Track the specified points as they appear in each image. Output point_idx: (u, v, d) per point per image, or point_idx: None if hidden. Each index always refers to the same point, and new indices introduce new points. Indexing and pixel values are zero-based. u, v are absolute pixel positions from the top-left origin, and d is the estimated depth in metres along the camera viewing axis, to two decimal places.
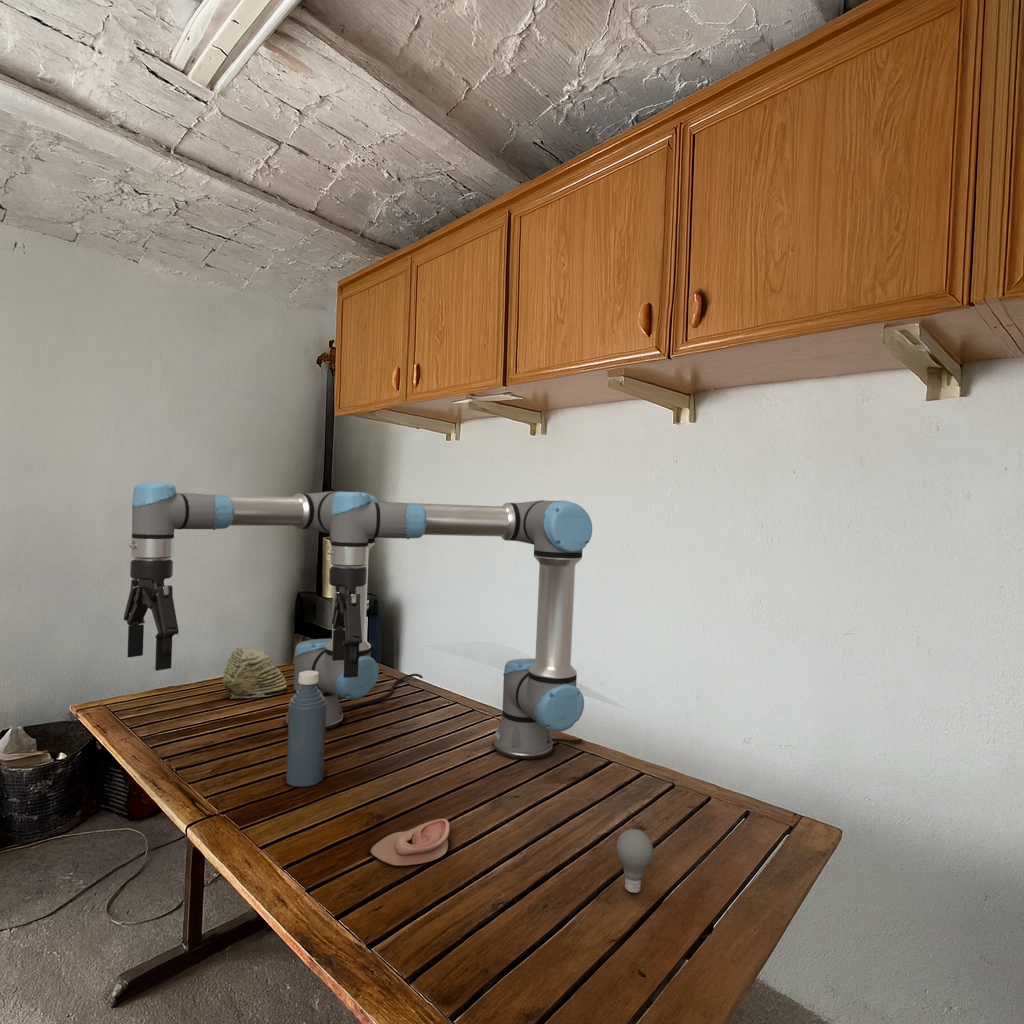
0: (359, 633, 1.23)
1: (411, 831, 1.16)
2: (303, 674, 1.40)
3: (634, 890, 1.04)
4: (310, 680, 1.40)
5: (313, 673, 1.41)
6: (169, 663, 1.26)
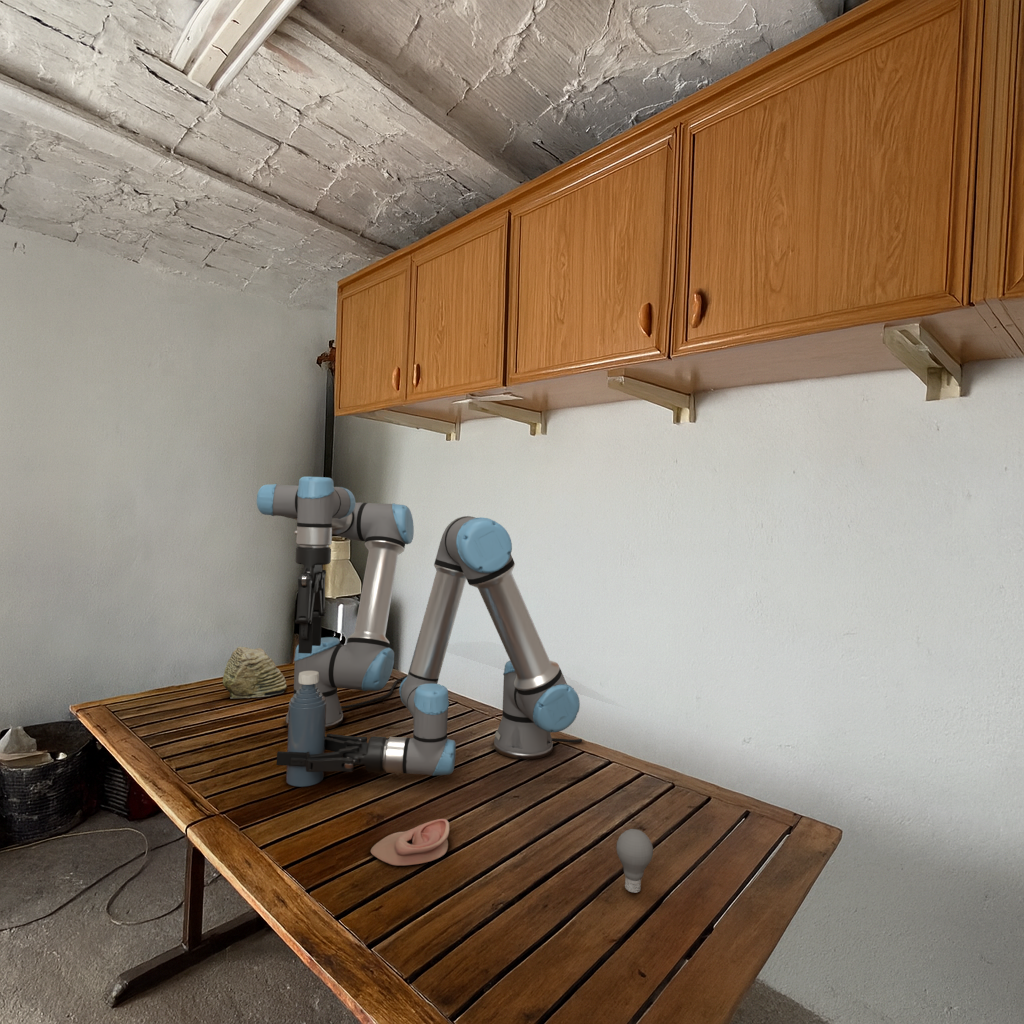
0: None
1: (411, 831, 1.16)
2: (303, 674, 1.40)
3: (634, 890, 1.04)
4: (310, 680, 1.40)
5: (313, 673, 1.41)
6: (309, 648, 1.37)
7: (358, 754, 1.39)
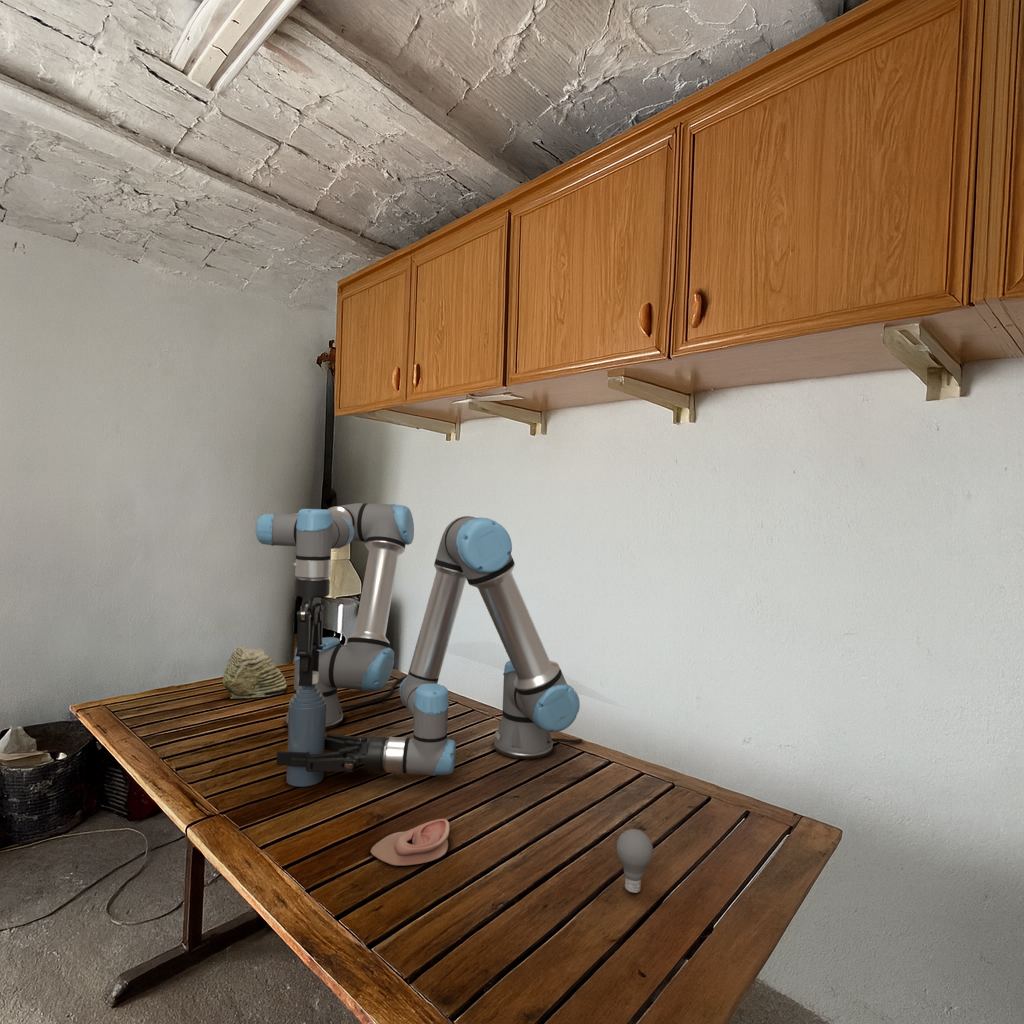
0: None
1: (411, 831, 1.16)
2: None
3: (634, 890, 1.04)
4: None
5: (313, 673, 1.41)
6: (309, 681, 1.39)
7: (358, 754, 1.39)
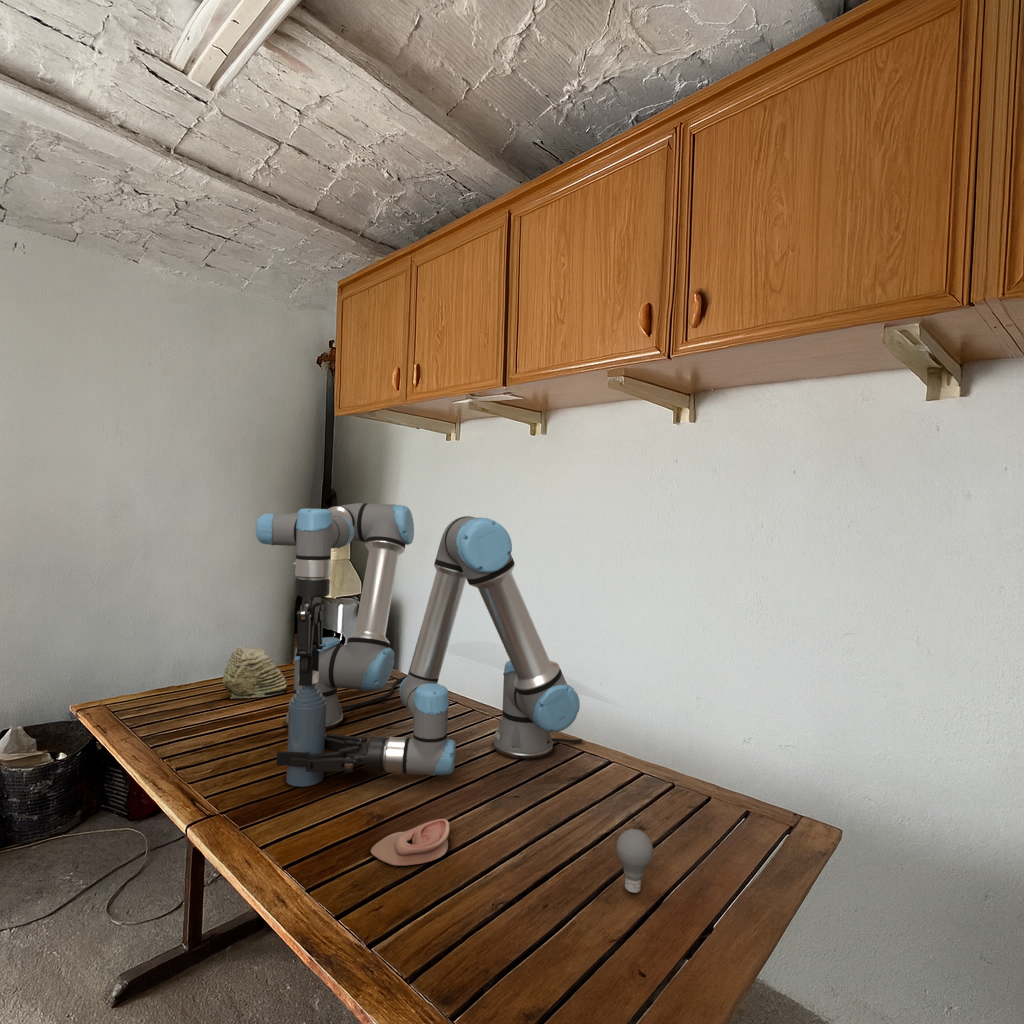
0: None
1: (411, 831, 1.16)
2: None
3: (634, 890, 1.04)
4: (318, 677, 1.42)
5: None
6: (309, 681, 1.39)
7: (358, 754, 1.39)
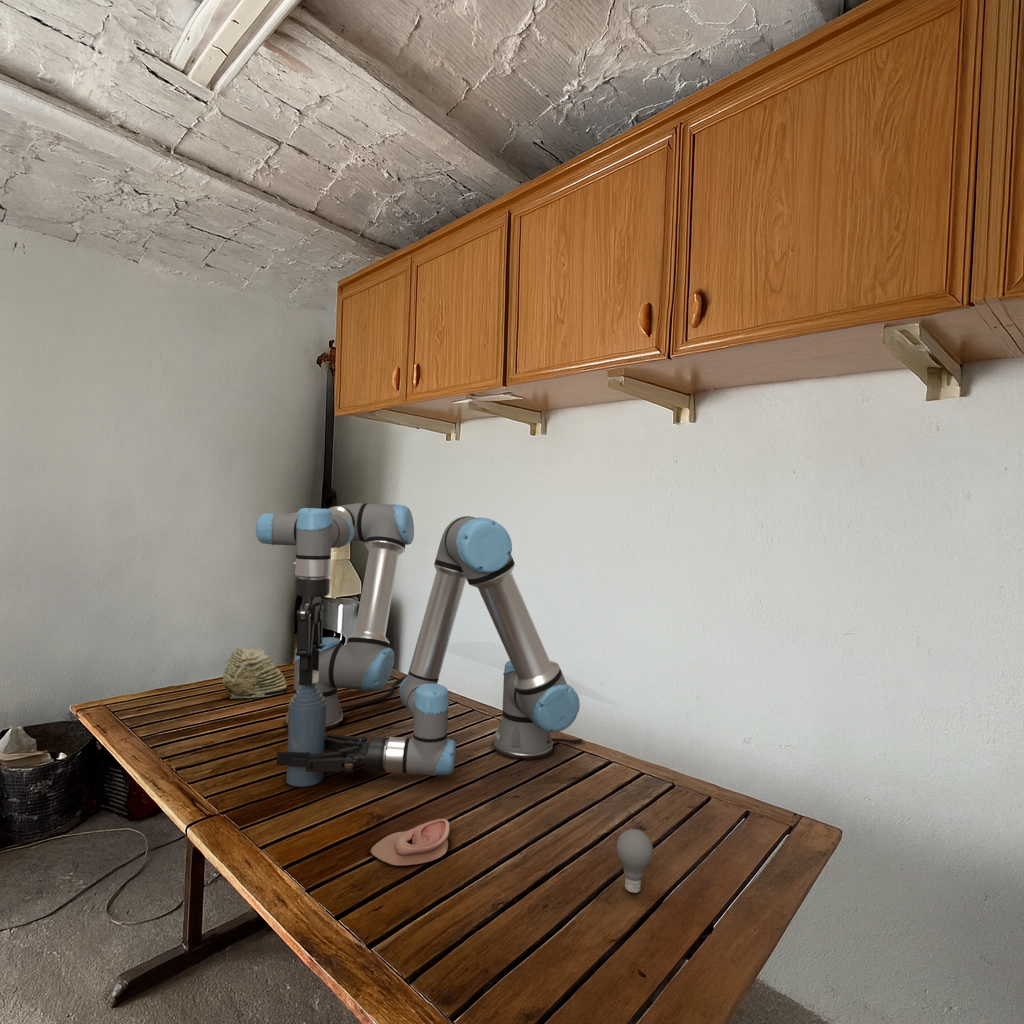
0: None
1: (411, 831, 1.16)
2: (315, 671, 1.42)
3: (634, 890, 1.04)
4: None
5: None
6: (309, 680, 1.39)
7: (358, 754, 1.39)
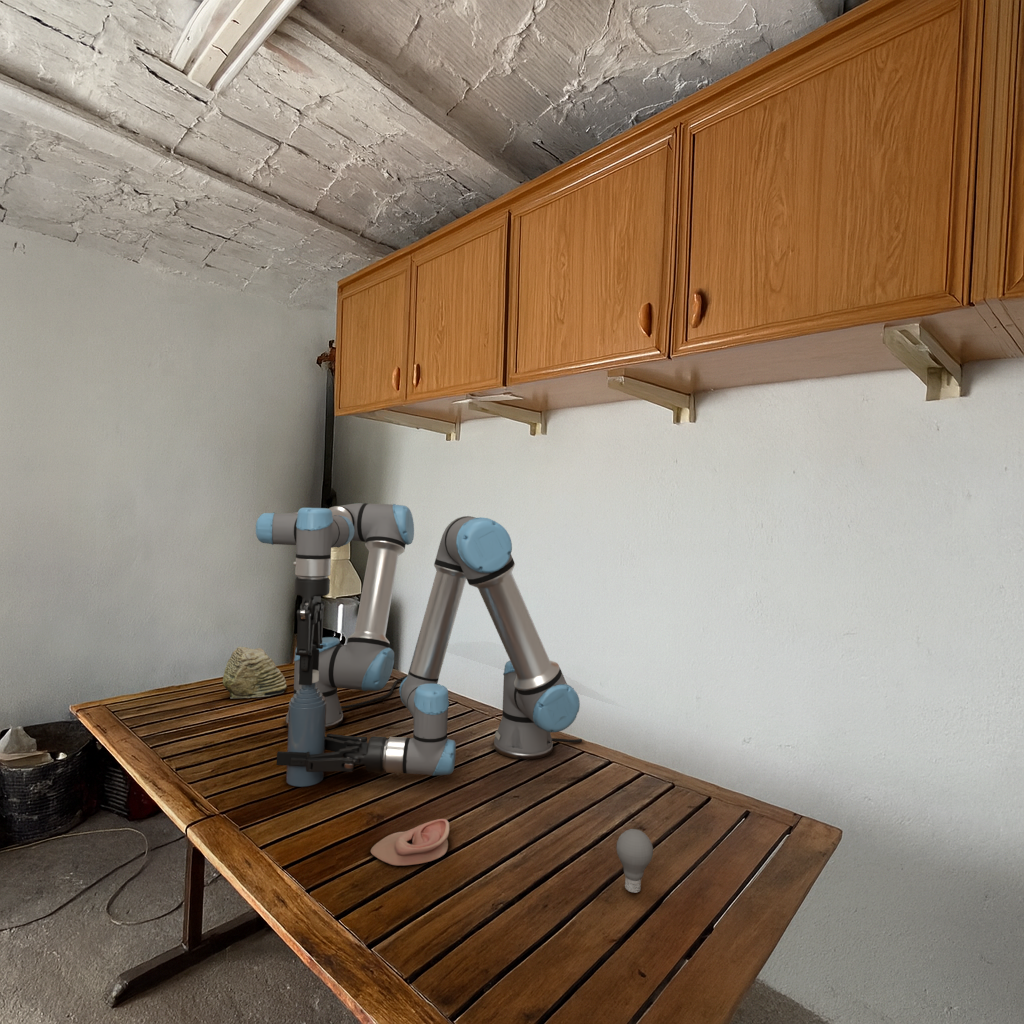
0: None
1: (411, 831, 1.16)
2: None
3: (634, 890, 1.04)
4: None
5: None
6: (309, 680, 1.39)
7: (358, 754, 1.39)
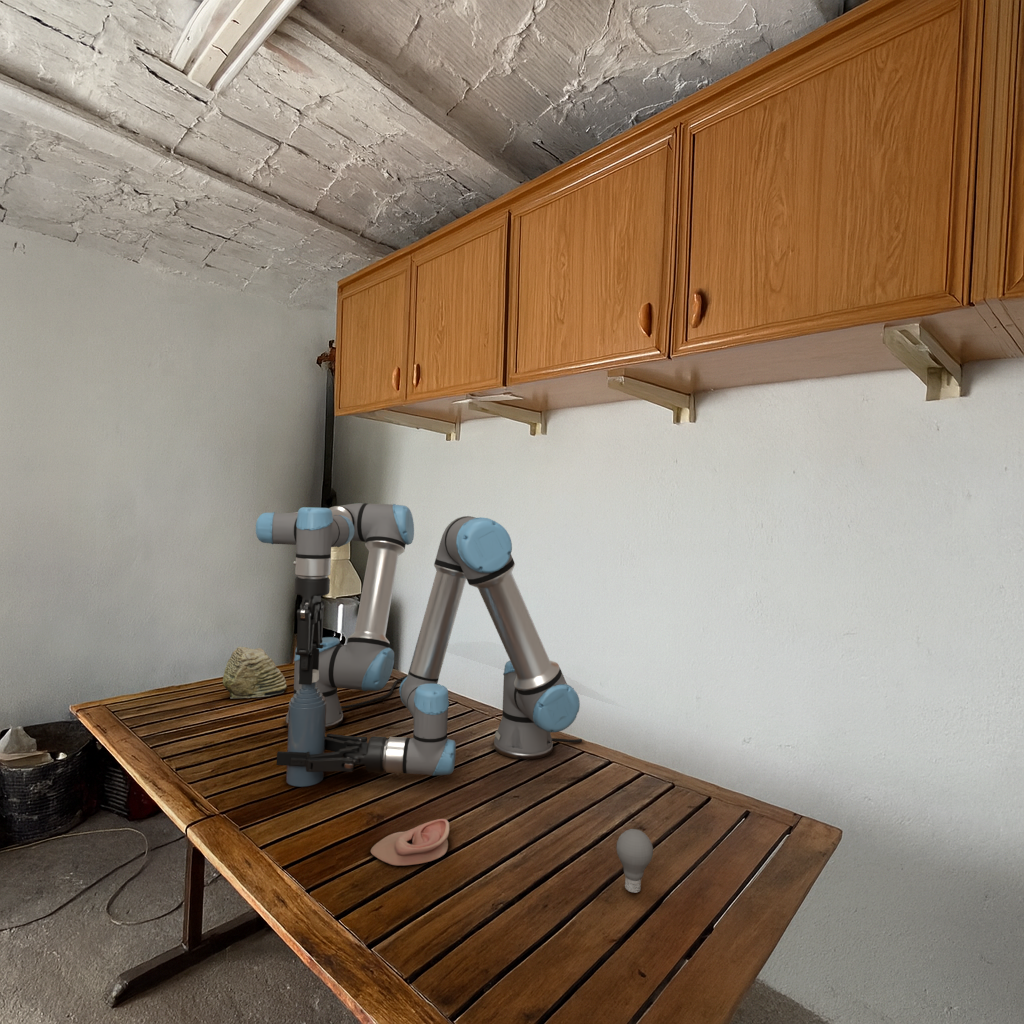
0: None
1: (411, 831, 1.16)
2: None
3: (634, 890, 1.04)
4: None
5: None
6: (309, 680, 1.39)
7: (358, 754, 1.39)
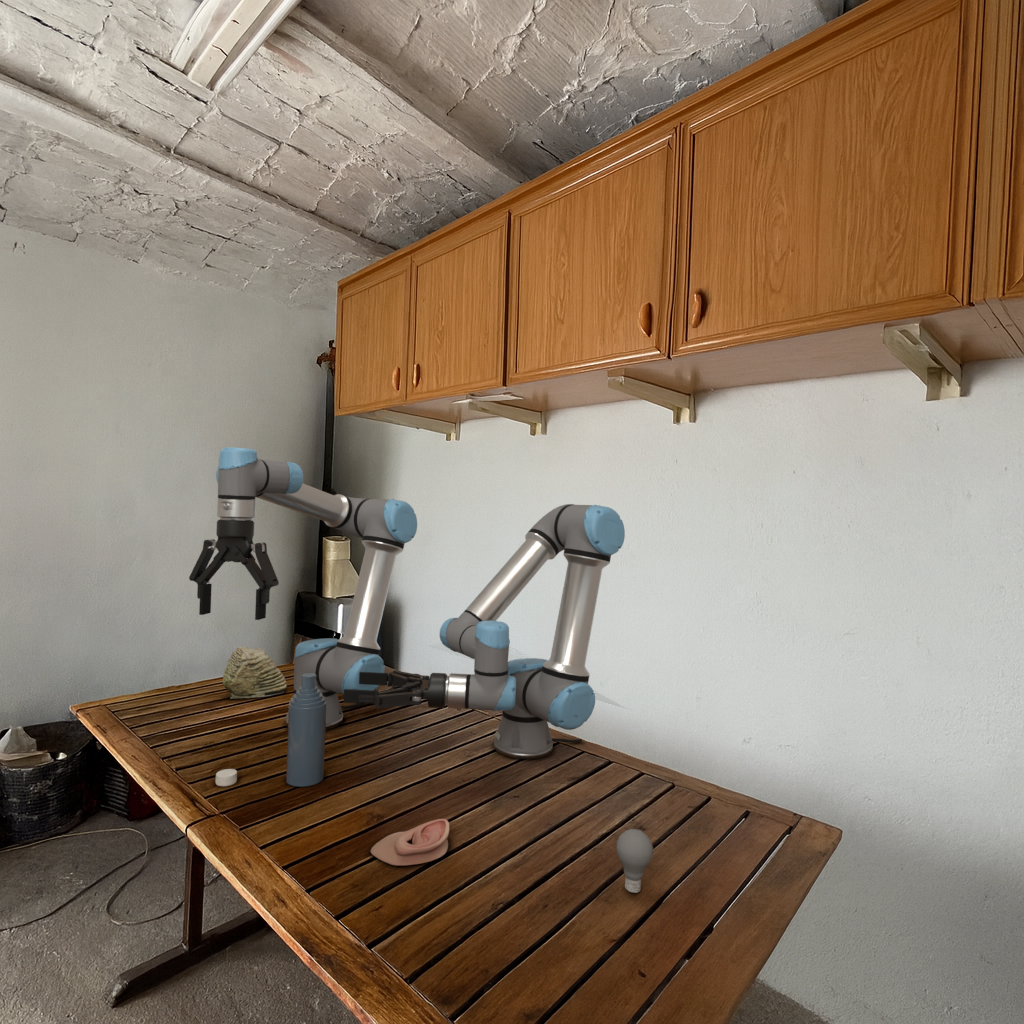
0: None
1: (411, 831, 1.16)
2: (222, 775, 1.37)
3: (634, 890, 1.04)
4: (230, 780, 1.37)
5: (231, 772, 1.39)
6: (264, 613, 1.38)
7: (420, 688, 1.39)
